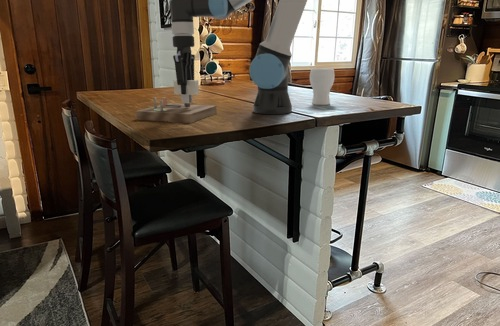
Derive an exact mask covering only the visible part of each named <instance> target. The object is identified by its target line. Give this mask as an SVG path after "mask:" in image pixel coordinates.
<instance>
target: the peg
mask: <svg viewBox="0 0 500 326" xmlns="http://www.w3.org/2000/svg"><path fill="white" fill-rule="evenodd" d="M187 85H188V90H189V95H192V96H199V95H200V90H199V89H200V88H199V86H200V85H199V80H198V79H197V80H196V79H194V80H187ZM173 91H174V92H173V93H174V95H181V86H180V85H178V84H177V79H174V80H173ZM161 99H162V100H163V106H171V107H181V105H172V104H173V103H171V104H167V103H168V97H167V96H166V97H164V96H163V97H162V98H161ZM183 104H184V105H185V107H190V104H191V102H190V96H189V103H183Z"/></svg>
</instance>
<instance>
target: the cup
mask: <svg viewBox="0 0 500 326" xmlns="http://www.w3.org/2000/svg"><path fill="white" fill-rule="evenodd" d="M335 77H336V76H335V69H334V68H331V67H325V68H324V67H322V68H321V67H317V68H311V69H310V73H309V83H310V86H311V88H312V93H313V96H312V101H311V104H312V105H316V106H325V105H326V106H327V105H330V104H331V102H330V101H331V99H330V93H331V89H332V87H333V85H334V83H335Z"/></svg>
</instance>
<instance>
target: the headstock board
mask: <svg viewBox="0 0 500 326" xmlns="http://www.w3.org/2000/svg"><path fill="white" fill-rule="evenodd" d="M167 104H172V105H181V107H171V106H163V100H161V99H160V100H159V105H158V103H157V97H153V106H151V107H146V108H142V109H139V110H136V111H135V116H136V120H138V121H139V120H141V121H154V122H167V121H168V122H169V123H170V122H171V123H182V124H183V123H184V124H192V123H194V122H197V121H200V120H203V119H205V118H208V117H210V116H214V115H217V114H218V113H217V112H218V111H217V105H209V104H207V105H206V104H191V103H190V107H185V105H184V103H171V102H170V103H168V102H167Z"/></svg>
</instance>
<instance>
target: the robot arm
mask: <svg viewBox="0 0 500 326" xmlns="http://www.w3.org/2000/svg"><path fill="white" fill-rule="evenodd" d="M252 1H253V0H169V5H170V6H169V7H170V18H171V20H170V21H171V26H170V28H171V31H172V33H171V34H172V35H173V36H172V47H173V48H176V55H175V54H174V55H173V56H172V57H173V61H174V69H175V77H176V80H177V84H178V85H180V86H181V94H180V98H181V100H180V101H181V104H184V103H189V96H190V103H193V101H194V100H193V95H189V90H188V85H187V80H195V59H196V56H195V55H196V54H193V53H192V49H191V48H194V47H195V37H194V34H195V31H194V30H195V28H194V18H205V17H206V18H211V19H212V18H213V19H216V20H220V21H222V20H225V19H228V18H229V16H230V15H231V14H232V13H234V12H235V11H237V10H238V9H240V8H242V7H243V6H245V5H247V4H249V3H250V2H252ZM307 2H308V0H279V1H278V4H277V7H276V10H275V12H274V15H273V18H272V21H271V23H270V27H269V30H268V32H267V36H266V38H265V40H263V41H262V42H260V43H259V44H258V47H257V51H256V54H255V56H254V58H253V59H252V60H251V62H250V65H249V77H250V79H251V81H252V82H253V83H254V85H256V87H257V93H256V95H255V99H254V103H253V107H252V111H253V113H256V114H261V115H283V114H284V115H285V114H289V113H291V112H293V104H292V101H291V99H290V95H289V89H288V88H289V83H288V82H289V64H290V61H291V58H292V54H293V53H291V50H290V49H291V46H292V43H293V41H294V38H295V35H296V32H297V29H298V26H299V24H300V21H301V18H302V16H303V13H304V11H305V7H306V5H307Z"/></svg>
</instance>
